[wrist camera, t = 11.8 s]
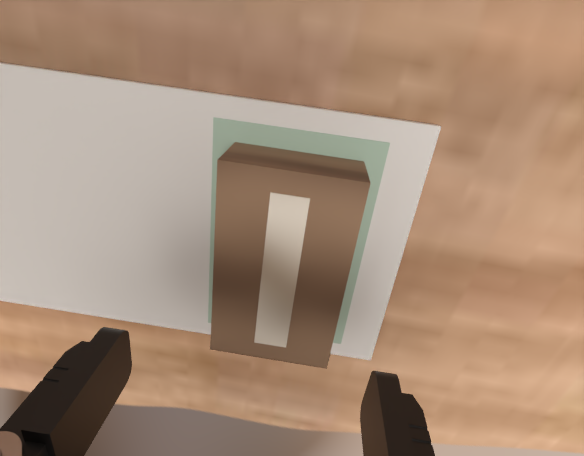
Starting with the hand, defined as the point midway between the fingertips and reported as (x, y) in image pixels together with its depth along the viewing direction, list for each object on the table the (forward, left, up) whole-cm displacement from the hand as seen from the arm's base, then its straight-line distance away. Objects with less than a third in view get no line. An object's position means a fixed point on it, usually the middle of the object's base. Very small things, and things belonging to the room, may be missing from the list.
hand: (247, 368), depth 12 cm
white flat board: (-7, 0, -9) cm, 11 cm away
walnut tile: (0, 0, -8) cm, 8 cm away
